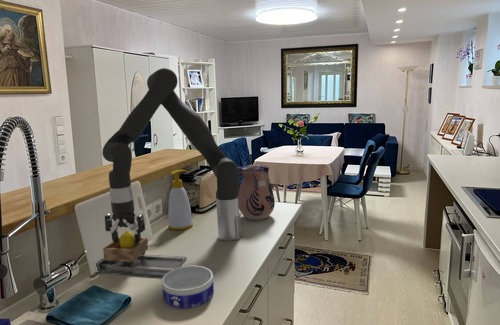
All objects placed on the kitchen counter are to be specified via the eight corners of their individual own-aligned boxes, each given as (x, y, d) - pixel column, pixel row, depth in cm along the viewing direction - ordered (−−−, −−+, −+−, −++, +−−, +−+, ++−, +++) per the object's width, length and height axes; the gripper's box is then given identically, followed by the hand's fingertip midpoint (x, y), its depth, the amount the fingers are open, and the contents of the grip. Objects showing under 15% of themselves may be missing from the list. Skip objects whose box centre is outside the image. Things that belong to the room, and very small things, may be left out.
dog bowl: (221, 285, 118) (220, 267, 117) (202, 312, 104) (200, 292, 102) (178, 280, 122) (176, 263, 121) (153, 306, 108) (151, 286, 107)
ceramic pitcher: (276, 222, 171) (274, 169, 166) (230, 224, 172) (227, 171, 167) (274, 211, 188) (272, 162, 184) (232, 212, 189) (229, 164, 184)
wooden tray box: (148, 253, 138) (147, 237, 137) (133, 267, 128) (131, 250, 127) (122, 252, 141) (120, 236, 140) (105, 265, 130) (103, 248, 129)
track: (186, 259, 137) (185, 250, 137) (170, 277, 124) (169, 268, 123) (118, 255, 143) (117, 247, 143) (96, 272, 130) (95, 263, 129)
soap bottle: (197, 226, 171) (193, 170, 166) (174, 232, 165) (169, 174, 160) (187, 220, 180) (183, 167, 175) (164, 225, 174) (159, 170, 169)
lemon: (123, 249, 136) (120, 228, 135) (138, 248, 137) (136, 227, 135) (119, 256, 131) (116, 234, 129) (135, 254, 131) (133, 233, 130)
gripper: (145, 196, 132) (150, 239, 135) (109, 195, 135) (114, 237, 138) (135, 202, 125) (139, 247, 128) (97, 201, 128) (102, 245, 131)
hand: (126, 242), depth 133 cm, fingers open, 8 cm apart
